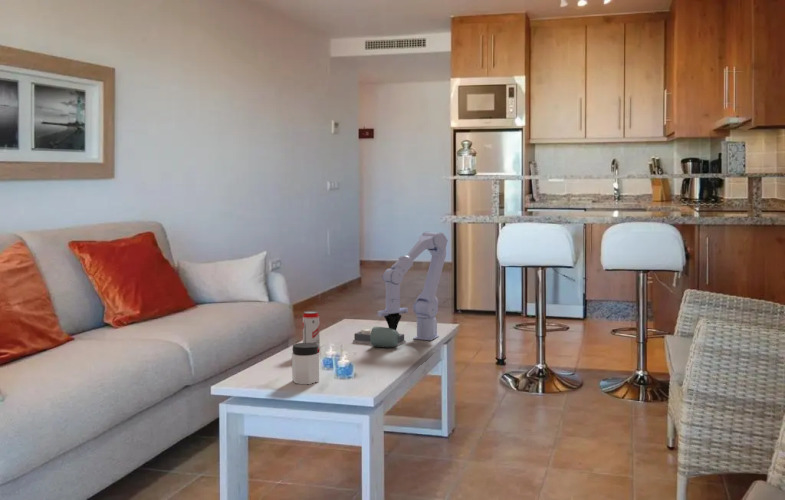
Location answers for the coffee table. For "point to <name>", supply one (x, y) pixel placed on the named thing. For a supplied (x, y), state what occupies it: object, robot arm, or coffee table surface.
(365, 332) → the white egg
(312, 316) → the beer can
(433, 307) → the robot arm
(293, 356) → the jar
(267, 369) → the coffee table surface
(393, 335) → the cup
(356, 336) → the gray compartment tray
